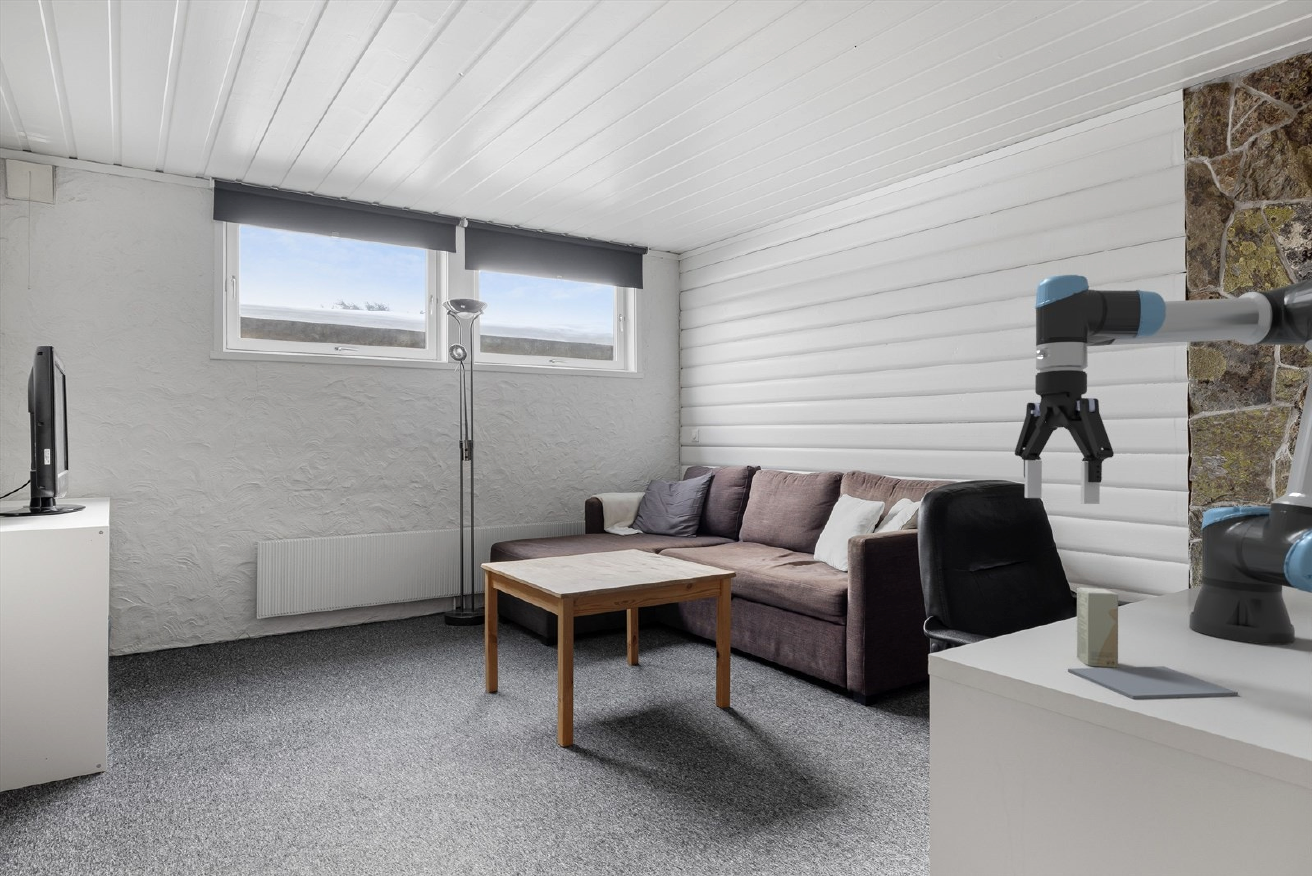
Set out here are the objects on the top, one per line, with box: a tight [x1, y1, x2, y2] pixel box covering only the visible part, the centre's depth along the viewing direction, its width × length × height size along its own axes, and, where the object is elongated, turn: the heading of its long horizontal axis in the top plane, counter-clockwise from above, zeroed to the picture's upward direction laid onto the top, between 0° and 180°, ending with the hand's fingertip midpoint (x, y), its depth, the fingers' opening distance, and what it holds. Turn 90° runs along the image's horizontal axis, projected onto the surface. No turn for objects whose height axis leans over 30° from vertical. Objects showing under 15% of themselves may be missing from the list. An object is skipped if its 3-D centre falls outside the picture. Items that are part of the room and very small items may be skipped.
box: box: [1076, 587, 1119, 668], centre depth 115 cm, size 5×4×11 cm
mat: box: [1067, 665, 1239, 700], centre depth 105 cm, size 16×12×1 cm
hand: (1060, 500), depth 124 cm, fingers open, 12 cm apart
